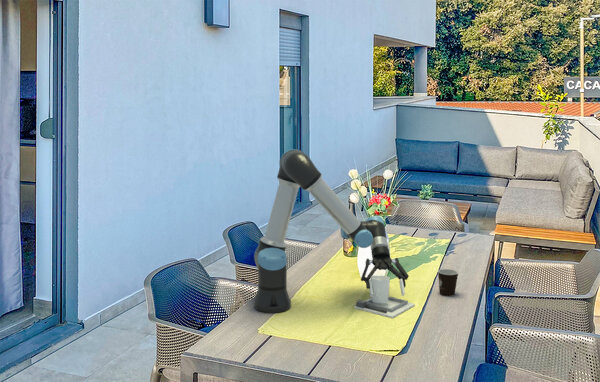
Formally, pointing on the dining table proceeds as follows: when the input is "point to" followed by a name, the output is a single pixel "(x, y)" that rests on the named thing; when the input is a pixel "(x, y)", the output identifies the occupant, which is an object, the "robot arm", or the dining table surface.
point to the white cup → (380, 288)
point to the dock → (384, 307)
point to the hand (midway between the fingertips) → (387, 295)
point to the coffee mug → (447, 281)
